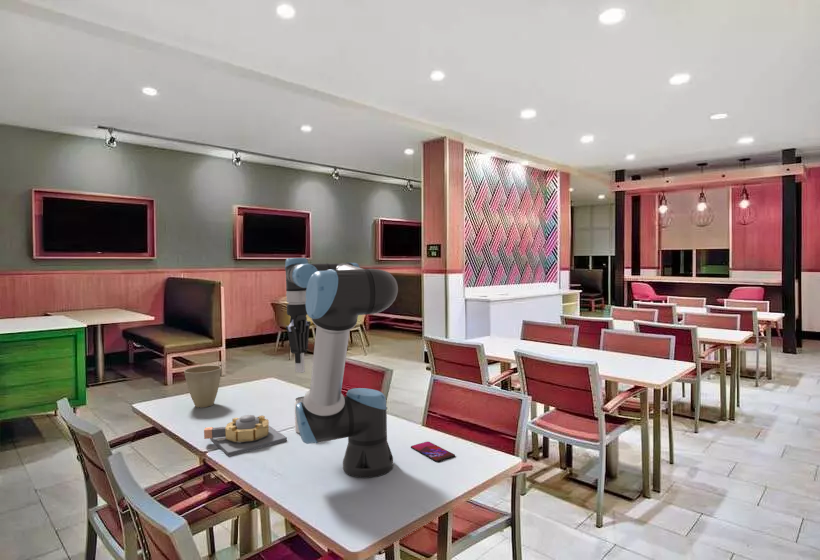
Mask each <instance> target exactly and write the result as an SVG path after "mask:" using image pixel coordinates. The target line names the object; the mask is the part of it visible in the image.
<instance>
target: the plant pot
mask: <svg viewBox="0 0 820 560" xmlns="http://www.w3.org/2000/svg"><path fill="white" fill-rule="evenodd" d="M183 373H184V378H185V382H186V386H187V389H188V392H189V395H190V398H191V400H192V402H193V404H194V407H196V408H199V407H200V408H208V407H211V406H213V405H214V403H215V401H216V398H217V395H218V391H219V387H220V382H221V375H222V366H220V365H216V364H215V365H214V364H213V365H212V364H211V365H200V366H199V365H198V366H192V367H190V368H186V369H184V371H183Z"/></svg>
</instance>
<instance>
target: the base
mask: <svg viewBox="0 0 820 560" xmlns="http://www.w3.org/2000/svg"><path fill="white" fill-rule="evenodd" d="M239 418H240V419H237V420H236V426H237V429H239V430H243V429H253V428H255V424H258V423H259V418H258V416H255V415H254V414H245V415H242V416H239ZM209 439H210V440H211V441H212V442H213V443H214V445H216V446H217V448H219V449H220V450H221V451H222V452H224V454H225V455H226V456H227V457H230V456H235V455H238V454H242V453H246V452H249V451H254V450H257V449H261V448H264V447H269V446H273V445H276V444H281V443H284V442H287V441H288V437H287V436H285V434H284V435H283V434H282V433H281V432H279V431H278V430H276V429H275V428H273V427H272V426H270V425H269V433H268V435H267V436H265V437H262V438H260V439H257V440H254V441H245V442H238V441H237V442H234V441H230V440H227V439H226V437H217V438H209Z"/></svg>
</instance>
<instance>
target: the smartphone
mask: <svg viewBox="0 0 820 560" xmlns="http://www.w3.org/2000/svg"><path fill="white" fill-rule="evenodd" d="M410 449H412V450H413V451H416V452H417V453H419V454H421V455H422V456H424V457H426V458H427V459H429V460H431V461H432V462H434V463H441V462H444V461H447V460H451V459H453V458H456V454H455V453H452V452H450V451H448V450H446V449H445V448H443V447H441V446H439V445H437V444H435V443H433V442H430V441H423V442H421V443H417V444H414V445H411V446H410Z"/></svg>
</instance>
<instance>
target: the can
mask: <svg viewBox="0 0 820 560" xmlns="http://www.w3.org/2000/svg"><path fill="white" fill-rule="evenodd" d="M304 396H305V395H304ZM304 396H298V397H296V398H295V401H294V407H293V408H294V431H295V432H296V434H299V435H300V432H299V428H298V423H297V417H296V404H298V403H300V402H303V399H304Z"/></svg>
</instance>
